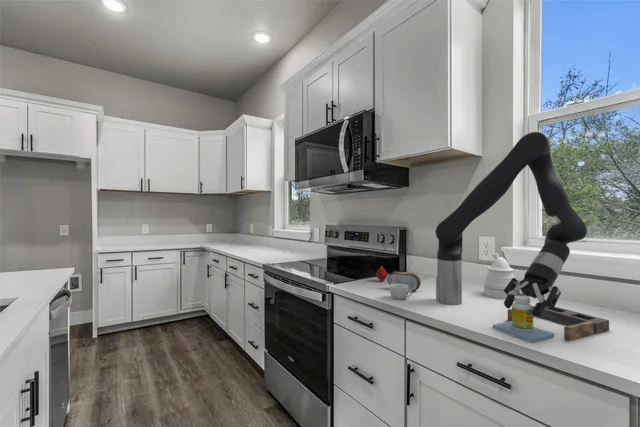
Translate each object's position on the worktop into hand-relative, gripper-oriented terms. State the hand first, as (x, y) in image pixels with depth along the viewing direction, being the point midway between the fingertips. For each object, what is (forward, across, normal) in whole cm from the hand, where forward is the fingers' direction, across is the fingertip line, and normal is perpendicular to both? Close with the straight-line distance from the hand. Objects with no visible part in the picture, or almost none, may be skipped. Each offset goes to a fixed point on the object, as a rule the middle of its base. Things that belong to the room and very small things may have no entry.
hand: (519, 310), depth 93 cm
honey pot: (-19, -32, +29) cm, 48 cm away
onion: (+4, -76, +6) cm, 77 cm away
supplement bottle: (+3, 0, +5) cm, 6 cm away
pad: (+4, 0, +6) cm, 7 cm away
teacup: (+12, -45, -2) cm, 46 cm away
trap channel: (-7, 0, +17) cm, 18 cm away
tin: (+4, -56, +5) cm, 57 cm away
